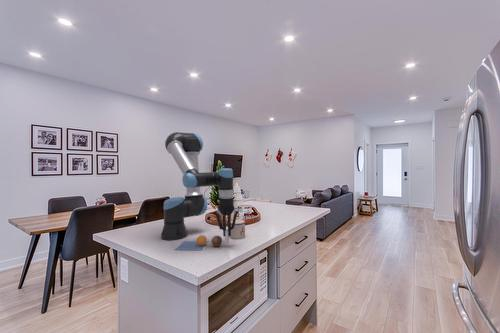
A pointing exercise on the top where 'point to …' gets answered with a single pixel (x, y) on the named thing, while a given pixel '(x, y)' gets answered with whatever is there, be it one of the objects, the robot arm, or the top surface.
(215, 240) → the walnut ball
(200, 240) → the orange ball
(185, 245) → the mark
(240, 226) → the teacup with lid
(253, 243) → the top surface
